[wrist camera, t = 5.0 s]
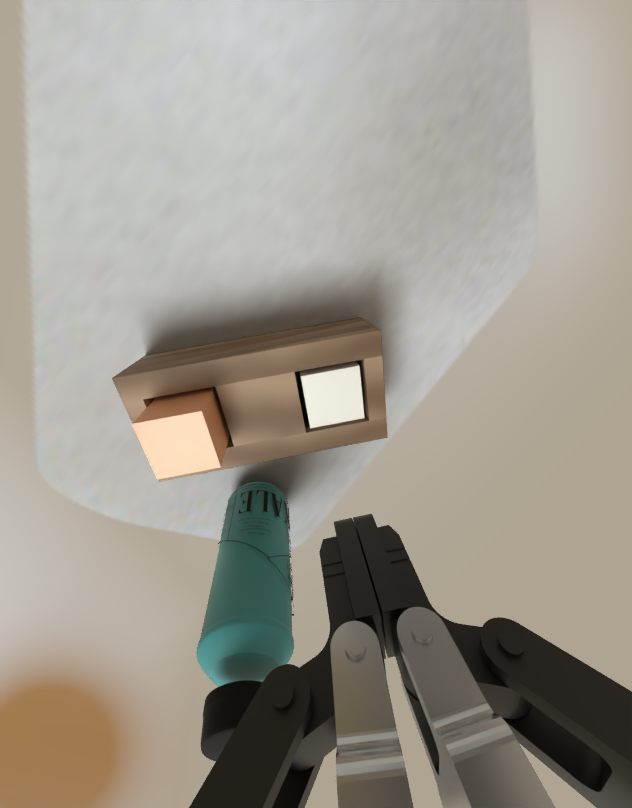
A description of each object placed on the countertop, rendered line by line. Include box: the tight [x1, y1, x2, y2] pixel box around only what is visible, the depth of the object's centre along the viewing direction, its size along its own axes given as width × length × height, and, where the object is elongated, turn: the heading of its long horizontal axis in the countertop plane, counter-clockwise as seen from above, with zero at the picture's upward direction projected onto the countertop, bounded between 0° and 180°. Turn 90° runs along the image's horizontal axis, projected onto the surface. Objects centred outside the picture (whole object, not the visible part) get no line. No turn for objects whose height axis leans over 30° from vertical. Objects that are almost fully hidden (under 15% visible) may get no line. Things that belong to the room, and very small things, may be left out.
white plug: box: [299, 361, 364, 428], centre depth 26 cm, size 4×4×5 cm
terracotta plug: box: [132, 386, 230, 480], centre depth 23 cm, size 4×4×5 cm
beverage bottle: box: [197, 482, 294, 761], centre depth 25 cm, size 6×7×20 cm
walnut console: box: [112, 318, 388, 482], centre depth 26 cm, size 9×19×6 cm, turn 99°
